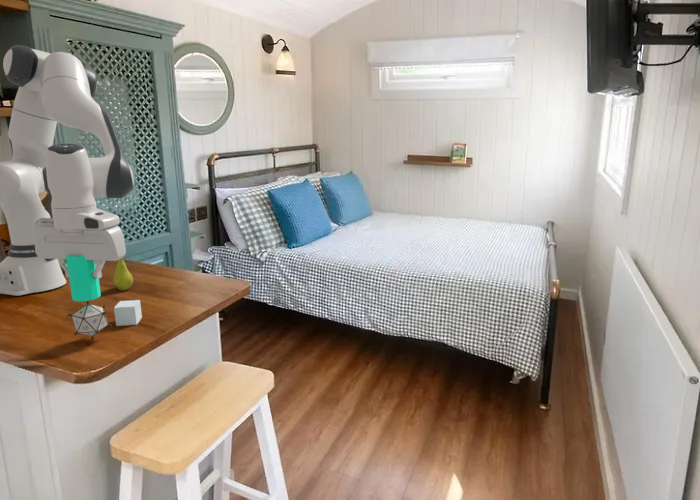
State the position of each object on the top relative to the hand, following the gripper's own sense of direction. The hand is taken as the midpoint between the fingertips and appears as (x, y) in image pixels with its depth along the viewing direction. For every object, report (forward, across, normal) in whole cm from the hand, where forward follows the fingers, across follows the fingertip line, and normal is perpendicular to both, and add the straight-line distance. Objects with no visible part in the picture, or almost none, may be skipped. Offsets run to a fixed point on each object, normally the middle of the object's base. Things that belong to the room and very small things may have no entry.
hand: (84, 277), depth 113 cm
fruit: (+16, -14, +36) cm, 42 cm away
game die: (+16, 0, 0) cm, 16 cm away
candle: (+5, 0, 0) cm, 5 cm away
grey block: (+16, +2, +12) cm, 20 cm away
